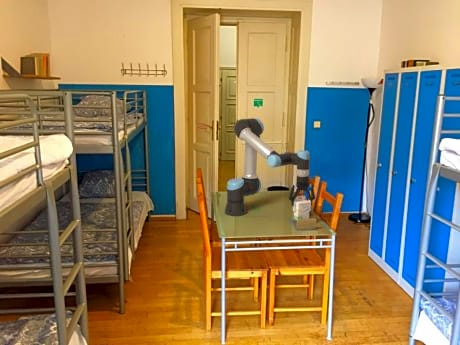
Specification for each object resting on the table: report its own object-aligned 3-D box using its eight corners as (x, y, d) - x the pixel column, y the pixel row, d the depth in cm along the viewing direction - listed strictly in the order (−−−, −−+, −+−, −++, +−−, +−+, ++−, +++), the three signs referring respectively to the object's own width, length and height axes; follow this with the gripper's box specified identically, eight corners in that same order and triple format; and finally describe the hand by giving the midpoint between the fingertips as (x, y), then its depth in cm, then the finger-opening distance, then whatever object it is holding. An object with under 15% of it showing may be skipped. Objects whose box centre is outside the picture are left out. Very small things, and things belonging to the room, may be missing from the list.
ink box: (297, 221, 251) (298, 198, 248) (293, 219, 255) (294, 196, 253) (309, 219, 254) (310, 196, 251) (305, 217, 259) (305, 195, 256)
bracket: (297, 230, 244) (297, 219, 243) (288, 221, 262) (288, 211, 261) (316, 229, 246) (316, 218, 245) (306, 220, 264) (306, 210, 262)
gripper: (287, 177, 244) (286, 213, 249) (322, 176, 248) (320, 211, 252) (283, 175, 252) (283, 209, 256) (317, 173, 255) (316, 208, 259)
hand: (301, 210), depth 254 cm, fingers closed on ink box, 9 cm apart
